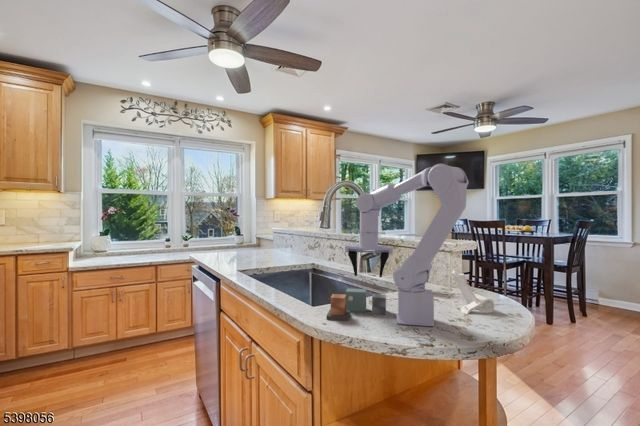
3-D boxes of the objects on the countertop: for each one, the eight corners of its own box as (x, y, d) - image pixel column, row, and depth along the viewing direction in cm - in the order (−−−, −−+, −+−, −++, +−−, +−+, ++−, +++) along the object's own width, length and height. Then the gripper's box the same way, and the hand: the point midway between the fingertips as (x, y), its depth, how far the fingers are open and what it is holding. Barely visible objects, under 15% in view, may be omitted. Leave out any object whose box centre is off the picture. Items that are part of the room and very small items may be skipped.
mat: (349, 313, 95) (349, 310, 95) (347, 320, 89) (347, 317, 89) (330, 312, 96) (330, 309, 96) (326, 319, 91) (326, 315, 91)
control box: (366, 307, 101) (366, 289, 101) (365, 312, 96) (365, 292, 96) (347, 306, 102) (347, 288, 102) (345, 311, 97) (345, 292, 97)
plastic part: (494, 312, 97) (495, 274, 97) (466, 314, 95) (466, 275, 94) (477, 305, 104) (477, 269, 104) (450, 307, 102) (450, 270, 102)
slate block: (385, 310, 99) (385, 294, 99) (385, 314, 95) (385, 298, 95) (372, 309, 99) (372, 293, 99) (372, 314, 95) (372, 297, 95)
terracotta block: (346, 311, 94) (346, 294, 94) (344, 315, 91) (344, 298, 90) (332, 310, 95) (332, 293, 95) (330, 314, 91) (330, 297, 91)
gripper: (392, 232, 102) (391, 274, 102) (347, 230, 105) (346, 272, 105) (393, 233, 95) (392, 279, 95) (344, 232, 98) (343, 276, 98)
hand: (368, 275), depth 100 cm, fingers open, 7 cm apart
